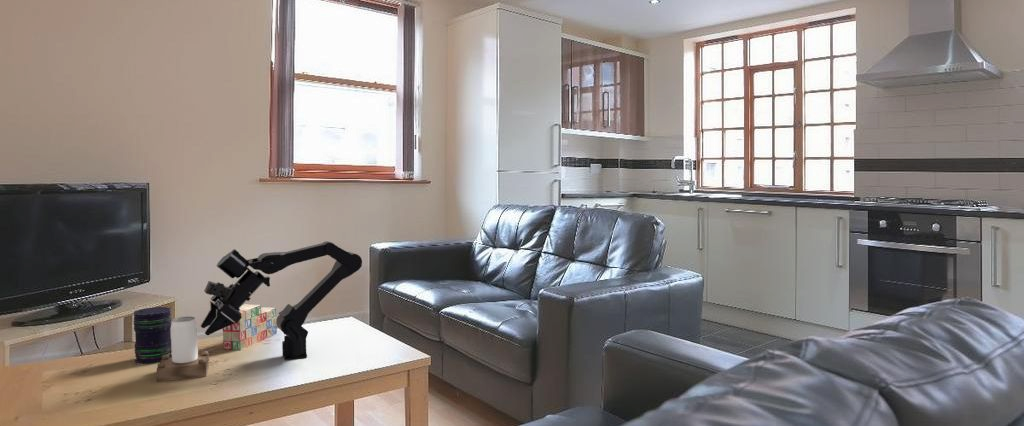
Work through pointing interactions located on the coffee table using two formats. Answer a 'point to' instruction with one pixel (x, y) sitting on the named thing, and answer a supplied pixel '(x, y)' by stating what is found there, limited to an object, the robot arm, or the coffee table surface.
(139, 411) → the coffee table surface
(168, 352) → the storage jar
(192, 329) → the can
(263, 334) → the stack of blocks
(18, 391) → the coffee table surface
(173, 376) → the base brick
